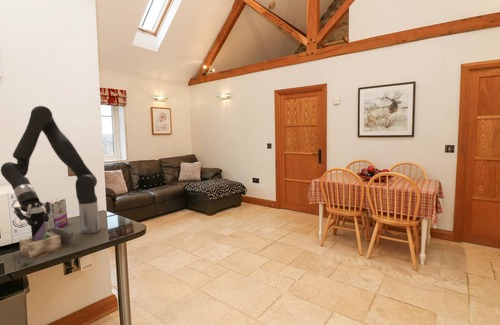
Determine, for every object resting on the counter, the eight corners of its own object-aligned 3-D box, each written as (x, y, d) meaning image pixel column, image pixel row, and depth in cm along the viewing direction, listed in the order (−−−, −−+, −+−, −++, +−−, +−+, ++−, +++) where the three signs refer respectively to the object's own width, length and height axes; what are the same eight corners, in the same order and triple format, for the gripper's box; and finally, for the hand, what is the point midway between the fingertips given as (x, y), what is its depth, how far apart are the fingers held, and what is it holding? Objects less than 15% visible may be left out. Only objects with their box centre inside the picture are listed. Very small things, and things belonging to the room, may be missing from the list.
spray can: (35, 248, 126) (31, 206, 124) (30, 246, 129) (26, 204, 127) (49, 244, 131) (45, 203, 129) (44, 242, 134) (40, 202, 132)
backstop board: (33, 261, 121) (31, 244, 120) (17, 253, 129) (15, 237, 129) (74, 247, 135) (72, 232, 134) (57, 241, 144) (55, 226, 143)
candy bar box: (60, 223, 173) (58, 198, 171) (68, 223, 173) (65, 198, 171) (47, 230, 162) (44, 203, 160) (55, 229, 162) (52, 202, 160)
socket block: (31, 257, 122) (30, 244, 122) (20, 252, 128) (19, 239, 128) (61, 247, 132) (60, 235, 132) (49, 243, 139) (48, 231, 138)
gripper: (9, 193, 125) (23, 222, 120) (45, 188, 138) (59, 214, 133) (6, 203, 129) (19, 232, 124) (41, 197, 141) (54, 223, 136)
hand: (39, 223), depth 128 cm, fingers closed on spray can, 5 cm apart
